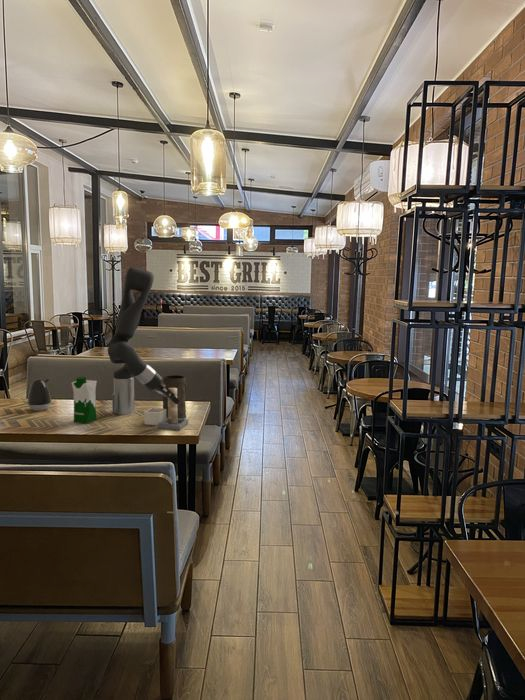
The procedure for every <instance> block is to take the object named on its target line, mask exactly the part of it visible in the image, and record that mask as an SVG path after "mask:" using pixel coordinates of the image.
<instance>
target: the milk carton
mask: <svg viewBox="0 0 525 700" xmlns="http://www.w3.org/2000/svg"><path fill="white" fill-rule="evenodd" d="M97 383H98V380H92V379H91V380H90V379H87V377H84V376H79V377H76V378H75V381H72V382H71V387H72V390H73V393H72V394H73V423H77V422H78V423H80V424H85V423H87V424H90V423H92V422H95V421H97V420H98V418H97V417H98V416H97V409H96V408H97V403H96V398H97V397H96V390H97V389H96V388H97ZM94 420H95V421H94ZM89 422H90V423H89Z"/></svg>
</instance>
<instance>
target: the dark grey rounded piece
mask: <svg viewBox="0 0 525 700" xmlns="http://www.w3.org/2000/svg"><path fill="white" fill-rule="evenodd" d="M48 382H50V379H49V378H47V379H45V380H43V379H42V378H37V379H34V380H33V381H32V383H31V385H30V389H29V392H28V397H27V405H28V406H29V408H30V410H32V411H34V412H43V411H46V410H47V409H49V408H50V406H51V403H52V397H51V393H50V390H49V387H48V385H47V383H48Z"/></svg>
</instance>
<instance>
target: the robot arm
mask: <svg viewBox="0 0 525 700" xmlns="http://www.w3.org/2000/svg"><path fill="white" fill-rule="evenodd" d="M154 277H155V275H154V273H153V272H151V271H148V270H145V269H141V268H138V267H135V266H131V267H129V268H128V269H127V271H126V274H125V280H124V284H123V285H124V286H123V293H122V300H121V304H120V307H119V311H118V315H117V322H116V327H115V332H114V334H113V336H112V338H111V340H110V342H109V344H108V348H107V355H108V357H109V361H110V363H112V364H118V365H119V364H124V365H123V366H122V367H120V368H118V369H117V370H115V371H114V372H113V393H112V394H111V397H112V398H111V400H112V403H111V405H112V406H111V407H112V414H115V415H118V416H124V415H129V414H130V415H131V414H133V413H134V412H135V379H136V380H137V381H138V382H139V383H141V384H142V385H143V386H144V387H145V388H146V389H147V390H149V391H153V390H154V391H155V392H156V393H158V394H159V395H161V396H162V397H163V396H164V397H165V398H166V399H167V400H168V398H169V399H170V400H172V401H173V402H174V403H175V404H178V403H179V399H178V398H176V397H175V394H174V393H172V392H171V391H170V389H168V388H167V387H166V386H165V385H164V383H163V382H162V381H163V377H162V375H160V374H159V372H157V371H156V370H155V369H154V368H153V367H152V366H151V365H149V364H147V362H145V360H143V359H142V358H141V357H140V356H139V354H138V353H137V351H136V350H135V347H134V345H133V344H132V343H129V340H131V339H132V338H133V337H134V335H135V332H136V330H137V329H138V327H139V323H140V319H141V314H142V311H143V309H144V307H145V305H146V302H147V300H148V298H149V296H150V292H151V290H152V287H153V284H154V280H155V279H154ZM133 291H136V292H139V293H140V295H139V297H138V298H137V299H135V297H134V292H133ZM169 394H171V395H170V396H169Z"/></svg>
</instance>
